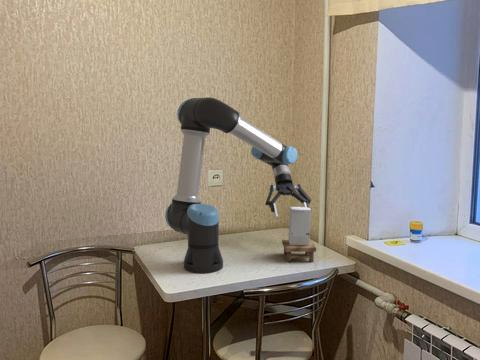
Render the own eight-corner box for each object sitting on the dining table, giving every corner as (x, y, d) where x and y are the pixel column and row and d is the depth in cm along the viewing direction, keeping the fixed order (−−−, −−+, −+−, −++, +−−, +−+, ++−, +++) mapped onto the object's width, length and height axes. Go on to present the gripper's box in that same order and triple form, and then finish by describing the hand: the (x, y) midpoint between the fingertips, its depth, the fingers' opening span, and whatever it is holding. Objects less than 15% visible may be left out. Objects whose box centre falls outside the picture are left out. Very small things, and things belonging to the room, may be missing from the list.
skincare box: (289, 245, 174) (290, 209, 172) (288, 241, 180) (288, 206, 178) (310, 245, 174) (311, 209, 172) (308, 241, 180) (309, 206, 178)
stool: (285, 262, 172) (285, 248, 171) (281, 253, 183) (282, 239, 183) (315, 262, 172) (316, 248, 171) (310, 253, 184) (310, 239, 183)
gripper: (306, 181, 202) (317, 220, 190) (254, 183, 198) (261, 223, 186) (311, 171, 197) (322, 211, 184) (257, 172, 192) (264, 213, 180)
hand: (291, 217), depth 185 cm, fingers open, 13 cm apart
